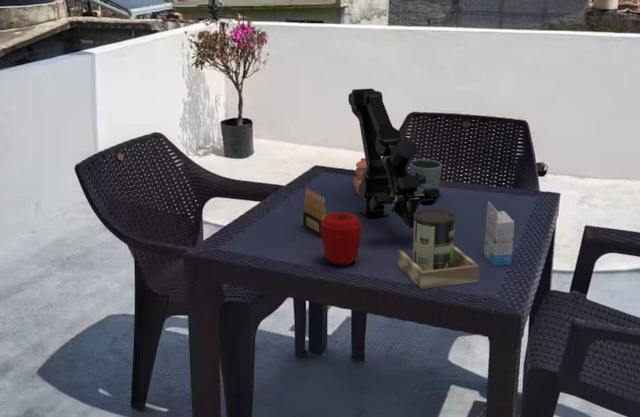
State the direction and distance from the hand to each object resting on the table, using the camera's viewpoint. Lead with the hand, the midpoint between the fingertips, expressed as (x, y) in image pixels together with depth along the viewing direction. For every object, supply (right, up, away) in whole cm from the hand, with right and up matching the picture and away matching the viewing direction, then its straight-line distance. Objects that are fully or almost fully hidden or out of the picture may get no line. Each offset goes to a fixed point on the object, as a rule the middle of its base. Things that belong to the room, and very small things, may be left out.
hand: (412, 228), depth 209 cm
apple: (-19, -9, -6) cm, 22 cm away
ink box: (+21, -8, -5) cm, 23 cm away
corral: (+4, -11, -13) cm, 17 cm away
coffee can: (+4, -10, -10) cm, 14 cm away
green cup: (+9, +8, +42) cm, 44 cm away
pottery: (-8, +10, +51) cm, 53 cm away
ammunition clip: (-26, -2, +15) cm, 30 cm away
